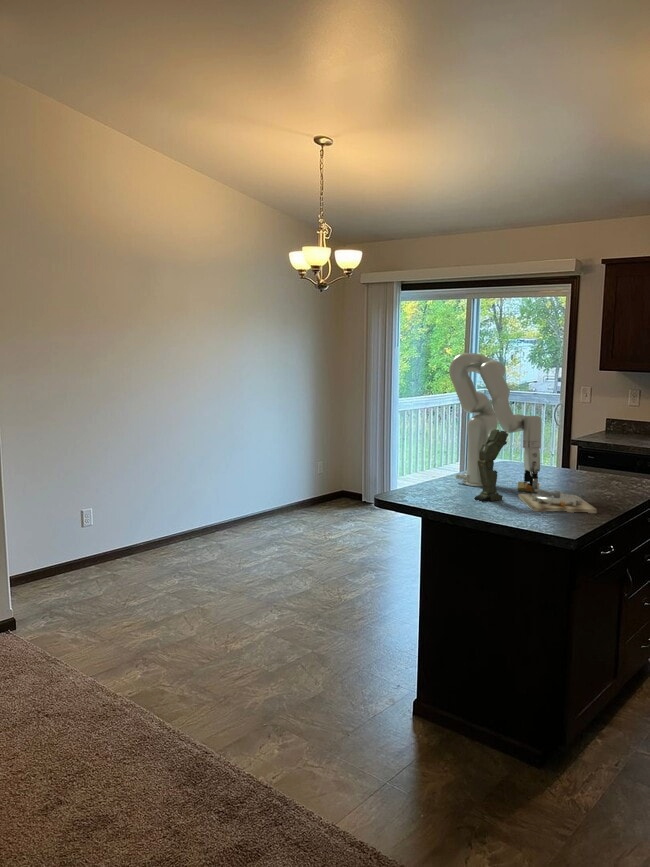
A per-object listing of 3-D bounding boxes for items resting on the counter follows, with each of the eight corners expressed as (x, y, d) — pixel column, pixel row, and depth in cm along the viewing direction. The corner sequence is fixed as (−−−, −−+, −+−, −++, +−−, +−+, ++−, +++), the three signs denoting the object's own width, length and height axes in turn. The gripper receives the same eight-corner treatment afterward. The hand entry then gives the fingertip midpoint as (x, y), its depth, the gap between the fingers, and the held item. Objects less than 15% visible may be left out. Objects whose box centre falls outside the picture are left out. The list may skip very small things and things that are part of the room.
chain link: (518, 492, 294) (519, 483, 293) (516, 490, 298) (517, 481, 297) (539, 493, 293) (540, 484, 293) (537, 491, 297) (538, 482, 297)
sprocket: (574, 508, 258) (576, 491, 257) (520, 500, 270) (521, 484, 269) (586, 499, 274) (588, 483, 273) (534, 492, 286) (535, 477, 285)
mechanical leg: (476, 501, 271) (494, 427, 270) (465, 497, 277) (482, 425, 277) (502, 506, 277) (519, 434, 277) (490, 502, 284) (507, 432, 283)
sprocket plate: (533, 511, 260) (533, 506, 260) (518, 497, 284) (518, 493, 284) (596, 513, 259) (597, 508, 259) (576, 499, 283) (577, 495, 283)
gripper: (546, 447, 284) (544, 487, 286) (535, 442, 301) (534, 480, 303) (527, 447, 284) (526, 487, 286) (518, 442, 301) (517, 480, 303)
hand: (530, 483), depth 295 cm, fingers open, 9 cm apart
